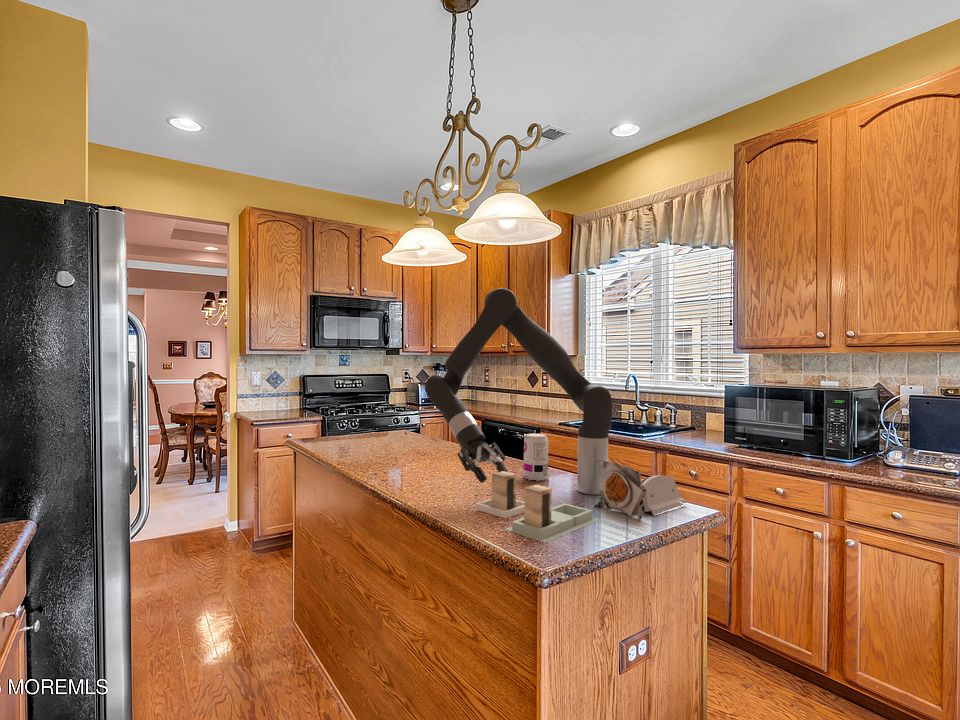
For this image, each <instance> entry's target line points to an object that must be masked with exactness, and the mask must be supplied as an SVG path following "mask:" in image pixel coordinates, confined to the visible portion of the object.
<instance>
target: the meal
mask: <svg viewBox="0 0 960 720" xmlns="http://www.w3.org/2000/svg"><path fill="white" fill-rule="evenodd" d="M597 462H598V464H599V465H600V466H601V469H602V470H603V472H604V476H603V477H602V481H601V483H600V486H599V489H600V490H601V491H600V495H601V496H600V497H598V499H599V500H598V501H597V503H596V504H595V505H593V508H601V509H606V510H614V511H618V512H620V513H623V512H624V513H623V514H626V513H627V515H628V516H629V517H630V516H633V517H635V516H636V517H637V520H638V521H639V520H640V521H641V520H642V518H643V517H644V513H645V511H644V510H643V511H642V506H643V505H644V503H645V502H644V498H645V494H646V488H645V487H644V485H643V484H642V482H641V478H642V475H641V472H640V471H638V470H635V469H632V468H631V467H630V466H627V465H623V464H619V463H617V462H613V461H610V462H606V461H601V460H597ZM641 488H642V489H643V490H642V489H641ZM643 492H645V493H644V495H642V493H643ZM641 500H643V504H642V505H640V502H641Z"/></svg>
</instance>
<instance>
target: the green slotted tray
mask: <svg viewBox="0 0 960 720" xmlns="http://www.w3.org/2000/svg"><path fill="white" fill-rule="evenodd" d="M593 515H594V511H593V510H592V509H588V508H586V507H585V508H583V507H580V506H576V505H573V504H569V503H562V504H560V505H559V504H558V505H556V506H553V507H551V525H548V526H546V527H543V528H537V527H534V526H530V525H527V524H524V517H521V518H519V519H516V520H513V521H512V522H511V526H509V527H507V528H504V530H506V531H509V532H512V533H514V534H518V535H521V536H524V537H526V538H529V539H533V540H535V541H539V542H541V543H545V544H546V543H548V542H550V541H553V540H555V539H557V538H561V537H562V536H564V535H566V534H567V535H568V534H569V533H572V532H574V531H577V530H579V529H581V528H584V527H586V526H588V525H591V524H593V523H596V522H598V521H601V518H596V517H593Z"/></svg>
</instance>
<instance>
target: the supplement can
mask: <svg viewBox="0 0 960 720" xmlns="http://www.w3.org/2000/svg"><path fill="white" fill-rule="evenodd" d="M548 463H549V439H548V437H547V435H546V434H544V433H536V432H535V433H527V434H525V436H524V439H523V473H522V474H523V477H524V478H525V480H527V479H528V480H527V481H531V480H536V481H535V482H541V480H542V481H545V480H546V479H548V476H549V475H548V474H549V473H548V471H549V464H548Z"/></svg>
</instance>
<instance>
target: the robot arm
mask: <svg viewBox="0 0 960 720" xmlns="http://www.w3.org/2000/svg"><path fill="white" fill-rule="evenodd" d="M483 304H484V307H483V309H482V311H481V313H480V315H479V317H477V320H476V321H475V322H474V324H473V326H472V327H471V328H470V330H468V332H467V333H466V334H465V335H464V336H463V338H462V339H461V340H460V342H459V343H457V344H456V346H455V348H454V349H453V350H452V352H451V354H450V355H449V356H448V357H447V359H446V361H445V363H444V367H445V369H446V372H445V375H444V376H441V375H437V374H434V375H431V376H428V378H427V379H426V380H425V383H424V390H425V393H426V395H427V397H428V400H430V402H431V403H433V405H434V406H435V407H436V408H437V409H438V411H439V412H440V413H441V414H442V416H443V418H444V420H445V421H446V423H447V425H448V427H449V429H450V432H451V433H452V435H453V437H454V438H455V441H456V442H457V443H458V445H459V446H460V449H459V451H458V452H457V454H456V455H457V456H458V459H459V461H460V462H461V464H462V466H463V468H464V470H465V471H466V472H469V471H471V473H473V474H474V475H475V477H476V479H477V480H478V482H480V483H481V484H482V483H485V481H487V479H488V477H487V476H486V474H485V471H483V469H482V467H481V466H480V463H483V462H486V463H488V464H492V465H493V466H494V467H495V468H496V471H498V472H502V471H505V472H509V471H508V469H507V468H506V466H505V464H504V461H505V460H506V456H505V454H504V453H503V452H502V449H500V447H499V446H498V444H497V443H496V442H493V443H492V444H490V445H489V444H488V443H487V442H486V436H485V434H484V432H483V431H482V429H481V428H480V426H479V425H478V423H477V421H476V419H475V418H474V417H473V415H472V414H471V413H470V411H469V410H468V408H467V407H466V405H465V404H464V402H463V401H462V400H461V399H460V398H458V397H457V394H458V392H459V390H460V387H461V385H462V383H463V382H464V381H463V380H464V377H465V375H466V373H467V372H468V370H469V369H470V368H471V366H472V365H473V364H474V362H475V361H476V359H477V358H478V357H479V355H480V353H481V352H482V350H483V349H484V347H485V346H486V344H487V343H488V341H490V339H491V337H492V336H493V335H494V333H496V332H497V330H498V329H499V328H500V327H501V326H502V327H504V328H505V329H506V330H507V331H508V332H509V333H510V334H511V335H512V336H513V337H514V338H515V340H516V342H518V344H519V345H520V346H521V348H522V349H523V350H524V351H525V352H526V353H527V355H528V356H529V357H530V358H531V359H532V360H533V361H534V362H535V363H536V364H537V365H538V366H539V367H540V369H542V370H543V371H544V372H545V373H546V374H547V375H548V376H549V377H550V378H551V379H552V380H553V381H555V382H556V383H557V384H558V385H559V386H560V387H561V388H562V389H563V390H564V391H565V393H566V394H567V395H568V396H569V398H570V399H571V400H572V402H573V403H574V404H575V406H576V407H577V408H578V409H579V410H580V411H582V412H583V414H582V422H581V424H580V425H579V427H578V430H577V435H578V437H577V478H576V479H577V484H576V485H577V486H576V487H577V488H576V489H577V490H576V491H577V492H579V493H582V494H585V495H594V496H596V495H599V496H600V495H601V494H600V491H601V490H600V489H599V486H600V483H601V481H602V477H603V476H604V472H603V470H602V469H601V466H600V465H599V464H598V462H597V460H601V461H606V462H611V461H610V460H609V432H610V430H611V427H612V414H613V398H612V394H611V392H610V391H609V390H608V388H606V387H604V386H601V385H595V384H594V383H591V381H589V380H588V379H586V377H584V376H583V375H582V374H581V373H580V372H579V371H578V369H577V368H576V367H575V365H574V363H573V361H572V360H571V357H570V355H569V354H568V353H567V351H566V349H564V347H563V346H562V345H561V343H559V341H557V340H556V339H555V338H554V337H553V336H552V335H551V334H550V333H548V331H546V330H545V329H544V328H543V327H542V326H540V325H539V324H538V323H536V322H535V321H533V320H532V319H531V318H530V317H529V316H528V315H527V314H526V313H525V312H524V311H523V310H522V308H521V307H520V306H519V305H518V302H517V297H516V295H515V294H514V292H513V291H512V290H510V289H508V288H503V287H500V288H499V287H498V288H495V289H492V290H490V291H489V292H488V293H487V294H486V295H485V298H484V303H483Z"/></svg>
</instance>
